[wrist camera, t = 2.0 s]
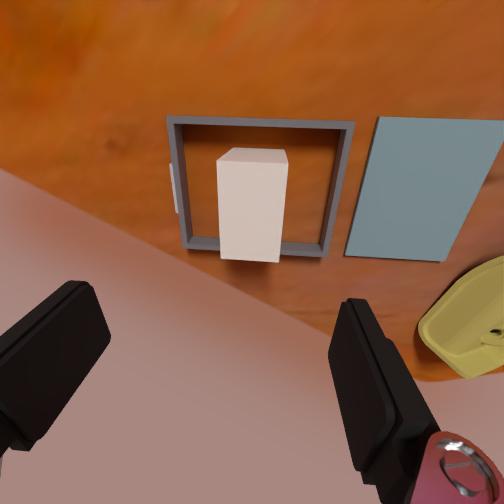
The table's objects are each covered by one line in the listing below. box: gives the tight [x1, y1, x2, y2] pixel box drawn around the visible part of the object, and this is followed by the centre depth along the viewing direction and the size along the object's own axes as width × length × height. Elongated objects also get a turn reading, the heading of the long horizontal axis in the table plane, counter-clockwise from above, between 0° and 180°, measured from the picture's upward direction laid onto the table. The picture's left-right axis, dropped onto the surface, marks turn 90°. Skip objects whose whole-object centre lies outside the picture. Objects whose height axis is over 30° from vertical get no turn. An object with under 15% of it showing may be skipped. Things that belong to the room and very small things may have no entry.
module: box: [217, 147, 288, 262], centre depth 22 cm, size 5×8×8 cm, turn 178°
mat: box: [344, 117, 504, 262], centre depth 25 cm, size 11×14×1 cm
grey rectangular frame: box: [166, 115, 355, 258], centre depth 25 cm, size 17×13×2 cm
